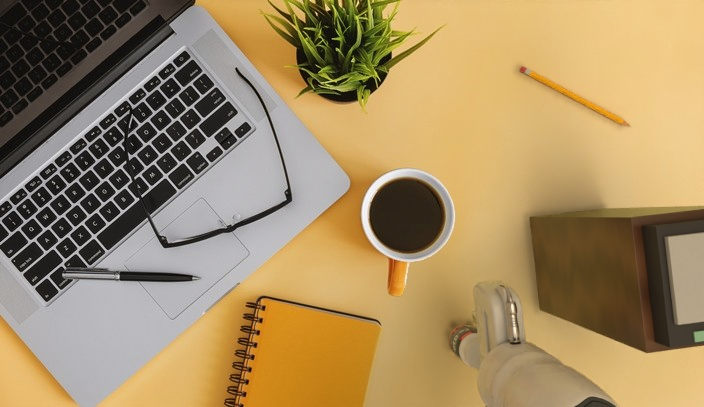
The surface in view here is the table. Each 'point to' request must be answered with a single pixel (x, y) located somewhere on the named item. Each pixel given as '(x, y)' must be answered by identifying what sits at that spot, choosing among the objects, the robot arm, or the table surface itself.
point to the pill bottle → (466, 345)
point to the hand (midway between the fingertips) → (481, 351)
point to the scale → (676, 281)
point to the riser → (601, 269)
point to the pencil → (573, 96)
